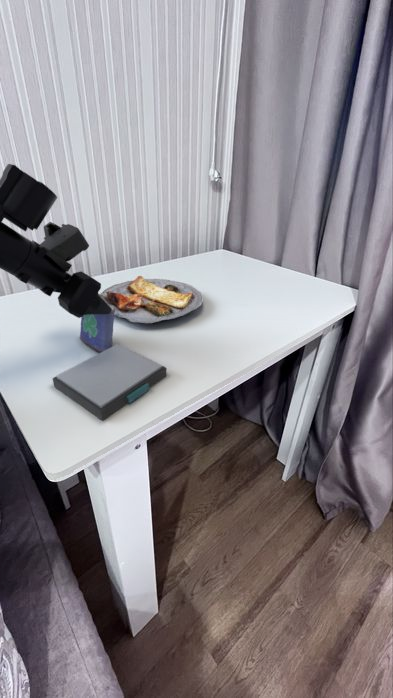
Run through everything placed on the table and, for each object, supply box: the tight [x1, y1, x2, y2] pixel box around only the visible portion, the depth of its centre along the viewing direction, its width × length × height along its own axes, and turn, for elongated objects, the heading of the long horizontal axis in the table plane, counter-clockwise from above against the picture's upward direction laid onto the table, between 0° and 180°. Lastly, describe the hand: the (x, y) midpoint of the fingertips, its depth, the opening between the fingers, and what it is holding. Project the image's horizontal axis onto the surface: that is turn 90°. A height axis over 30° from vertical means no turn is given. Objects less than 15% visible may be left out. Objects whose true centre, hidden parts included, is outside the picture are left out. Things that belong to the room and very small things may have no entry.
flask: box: [79, 292, 115, 354], centre depth 62 cm, size 9×3×11 cm, turn 46°
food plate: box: [101, 275, 204, 324], centre depth 81 cm, size 25×23×4 cm
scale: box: [52, 343, 167, 422], centre depth 55 cm, size 14×12×2 cm
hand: (97, 302), depth 61 cm, fingers closed on flask, 9 cm apart
